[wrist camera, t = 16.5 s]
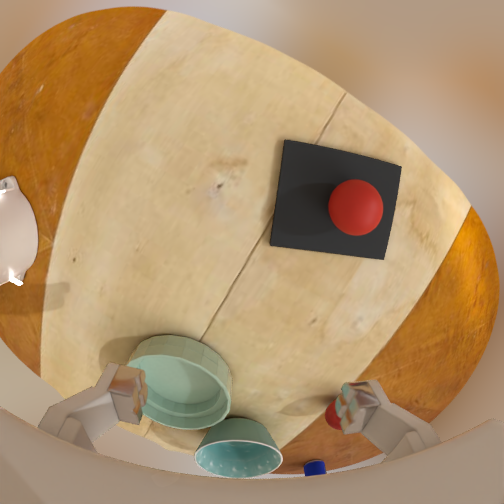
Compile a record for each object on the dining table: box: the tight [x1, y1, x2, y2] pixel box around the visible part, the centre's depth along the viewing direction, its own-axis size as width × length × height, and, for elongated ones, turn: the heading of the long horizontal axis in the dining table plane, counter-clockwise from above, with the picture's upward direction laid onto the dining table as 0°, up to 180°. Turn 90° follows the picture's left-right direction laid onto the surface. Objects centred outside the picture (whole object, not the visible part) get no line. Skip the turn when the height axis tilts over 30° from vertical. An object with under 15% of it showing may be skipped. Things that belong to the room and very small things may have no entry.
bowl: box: [194, 418, 283, 478], centre depth 41 cm, size 16×16×8 cm
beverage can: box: [304, 460, 327, 476], centre depth 43 cm, size 5×5×15 cm
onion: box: [325, 399, 342, 430], centre depth 39 cm, size 6×6×8 cm
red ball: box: [328, 179, 383, 236], centre depth 29 cm, size 6×6×6 cm
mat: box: [270, 140, 402, 260], centre depth 33 cm, size 16×13×1 cm
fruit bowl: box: [125, 335, 232, 430], centre depth 38 cm, size 17×17×6 cm
